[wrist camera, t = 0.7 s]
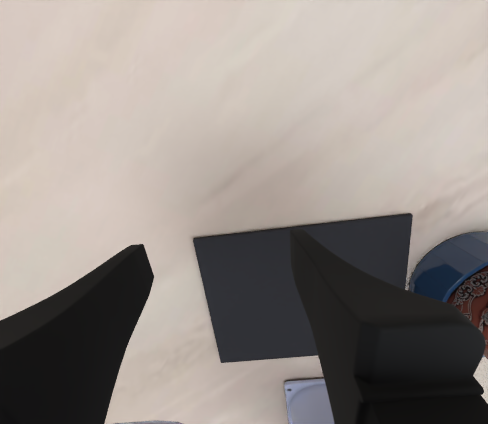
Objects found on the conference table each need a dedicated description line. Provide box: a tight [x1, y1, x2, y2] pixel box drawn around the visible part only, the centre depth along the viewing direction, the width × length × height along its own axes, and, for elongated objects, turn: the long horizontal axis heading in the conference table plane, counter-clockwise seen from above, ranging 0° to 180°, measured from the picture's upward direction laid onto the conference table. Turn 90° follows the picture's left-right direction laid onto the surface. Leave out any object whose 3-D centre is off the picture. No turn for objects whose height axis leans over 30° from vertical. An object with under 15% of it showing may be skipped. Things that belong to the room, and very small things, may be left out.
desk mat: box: [193, 214, 413, 363], centre depth 25 cm, size 16×20×1 cm
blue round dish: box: [409, 232, 488, 357], centre depth 22 cm, size 11×11×4 cm
